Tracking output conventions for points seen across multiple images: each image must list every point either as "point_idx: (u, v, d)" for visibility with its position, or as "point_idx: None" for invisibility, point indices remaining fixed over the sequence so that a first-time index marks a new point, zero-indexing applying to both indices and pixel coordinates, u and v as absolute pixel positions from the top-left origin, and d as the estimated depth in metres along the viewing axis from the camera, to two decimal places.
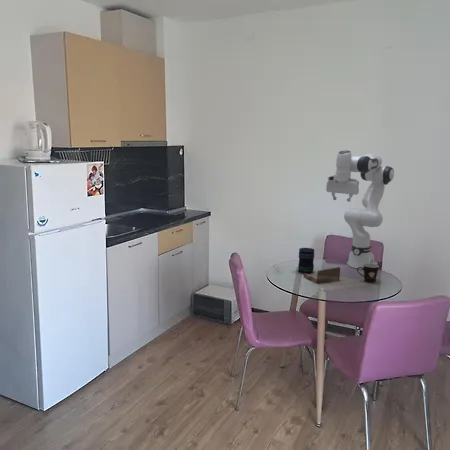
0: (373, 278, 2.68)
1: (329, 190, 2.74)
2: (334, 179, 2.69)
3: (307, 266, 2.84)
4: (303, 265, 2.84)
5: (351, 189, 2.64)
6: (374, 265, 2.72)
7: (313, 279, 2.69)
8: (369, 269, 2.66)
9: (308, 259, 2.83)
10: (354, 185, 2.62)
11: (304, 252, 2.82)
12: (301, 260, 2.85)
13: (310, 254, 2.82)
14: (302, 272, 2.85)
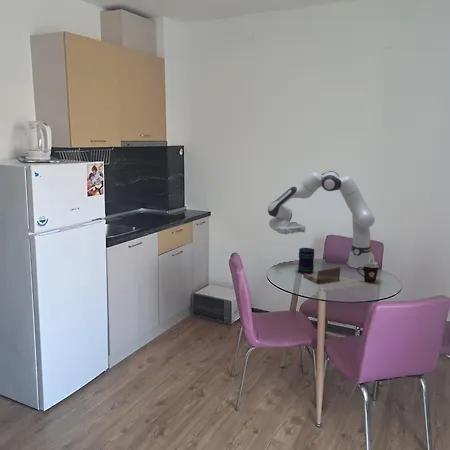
0: (373, 278, 2.68)
1: None
2: None
3: (307, 266, 2.84)
4: (303, 265, 2.84)
5: None
6: (374, 265, 2.72)
7: (313, 279, 2.69)
8: (369, 269, 2.66)
9: (308, 259, 2.83)
10: None
11: (304, 252, 2.82)
12: (301, 260, 2.85)
13: (310, 254, 2.82)
14: (302, 272, 2.85)
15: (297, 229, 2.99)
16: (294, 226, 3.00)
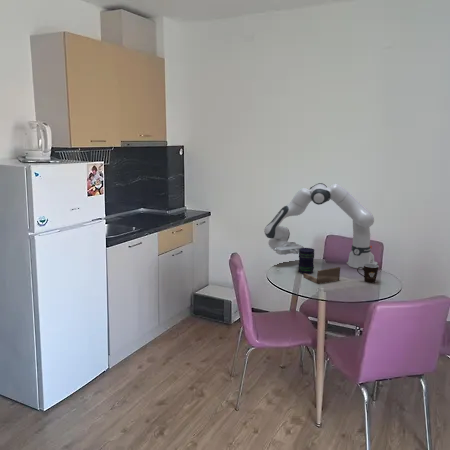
0: (373, 278, 2.68)
1: None
2: None
3: (307, 266, 2.84)
4: (303, 265, 2.84)
5: None
6: (374, 265, 2.72)
7: (313, 279, 2.69)
8: (369, 269, 2.66)
9: (308, 259, 2.83)
10: None
11: (304, 252, 2.82)
12: (301, 260, 2.85)
13: (310, 254, 2.82)
14: (302, 272, 2.85)
15: None
16: (293, 246, 3.04)
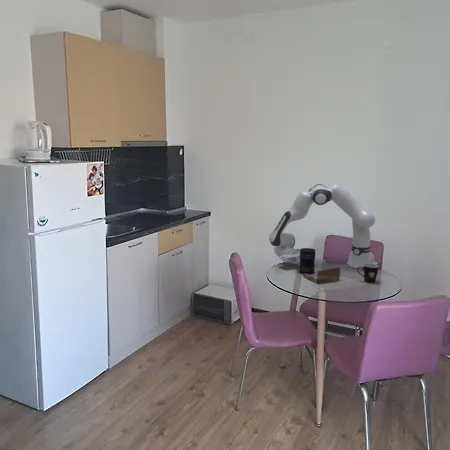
0: (373, 278, 2.68)
1: None
2: None
3: (308, 266, 2.83)
4: (304, 265, 2.83)
5: None
6: (374, 265, 2.72)
7: (313, 279, 2.69)
8: (369, 269, 2.66)
9: (309, 259, 2.82)
10: None
11: (305, 252, 2.81)
12: (302, 260, 2.84)
13: (311, 254, 2.81)
14: (303, 272, 2.84)
15: None
16: (299, 254, 2.99)
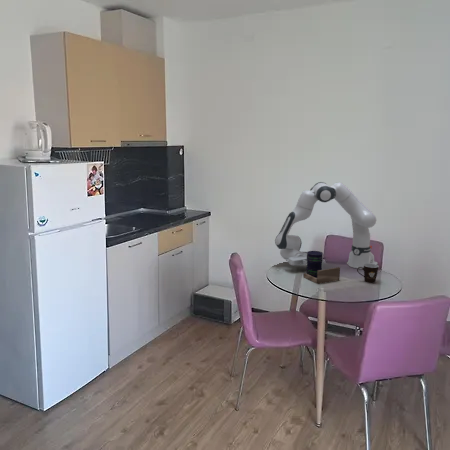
0: (373, 278, 2.68)
1: None
2: None
3: (315, 270, 2.76)
4: (311, 269, 2.77)
5: None
6: (374, 265, 2.72)
7: (313, 279, 2.69)
8: (369, 269, 2.66)
9: (316, 262, 2.75)
10: None
11: (312, 255, 2.75)
12: (309, 263, 2.77)
13: (318, 257, 2.75)
14: None
15: None
16: (306, 256, 2.92)
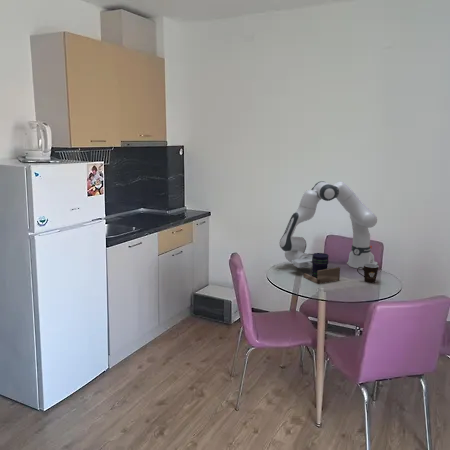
0: (373, 278, 2.68)
1: None
2: None
3: None
4: (316, 271, 2.72)
5: None
6: (374, 265, 2.72)
7: (313, 279, 2.69)
8: (369, 269, 2.66)
9: (321, 265, 2.70)
10: None
11: (317, 257, 2.70)
12: (314, 266, 2.73)
13: (323, 260, 2.69)
14: None
15: None
16: (311, 259, 2.87)
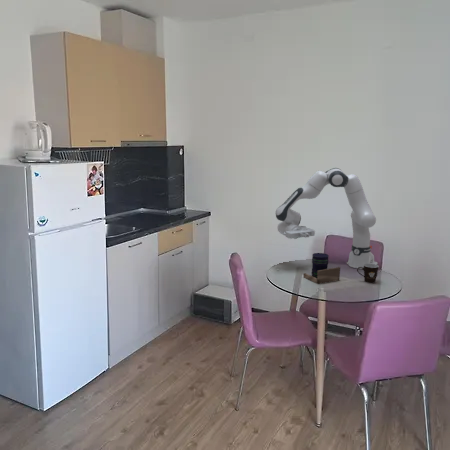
0: (373, 278, 2.68)
1: None
2: None
3: None
4: (316, 271, 2.72)
5: None
6: (374, 265, 2.72)
7: (313, 279, 2.69)
8: (369, 269, 2.66)
9: (321, 265, 2.70)
10: None
11: (317, 257, 2.70)
12: (314, 266, 2.73)
13: (323, 260, 2.69)
14: None
15: None
16: (303, 230, 2.92)
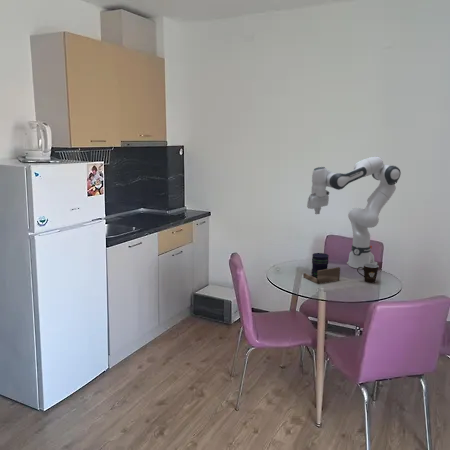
0: (373, 278, 2.68)
1: None
2: None
3: None
4: (316, 271, 2.72)
5: None
6: (374, 265, 2.72)
7: (313, 279, 2.69)
8: (369, 269, 2.66)
9: (321, 265, 2.70)
10: None
11: (317, 257, 2.70)
12: (314, 266, 2.73)
13: (323, 260, 2.69)
14: None
15: None
16: (322, 201, 2.87)
